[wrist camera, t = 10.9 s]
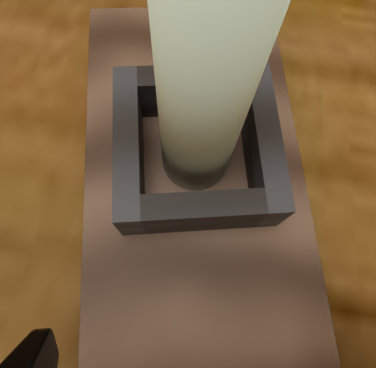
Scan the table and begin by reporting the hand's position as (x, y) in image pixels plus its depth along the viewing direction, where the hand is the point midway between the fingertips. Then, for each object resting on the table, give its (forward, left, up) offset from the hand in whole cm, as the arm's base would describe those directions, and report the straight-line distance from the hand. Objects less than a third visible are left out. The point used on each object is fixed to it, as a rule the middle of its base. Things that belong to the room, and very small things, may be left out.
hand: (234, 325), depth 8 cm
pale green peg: (+3, +7, -8) cm, 11 cm away
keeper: (+3, +7, -9) cm, 12 cm away
